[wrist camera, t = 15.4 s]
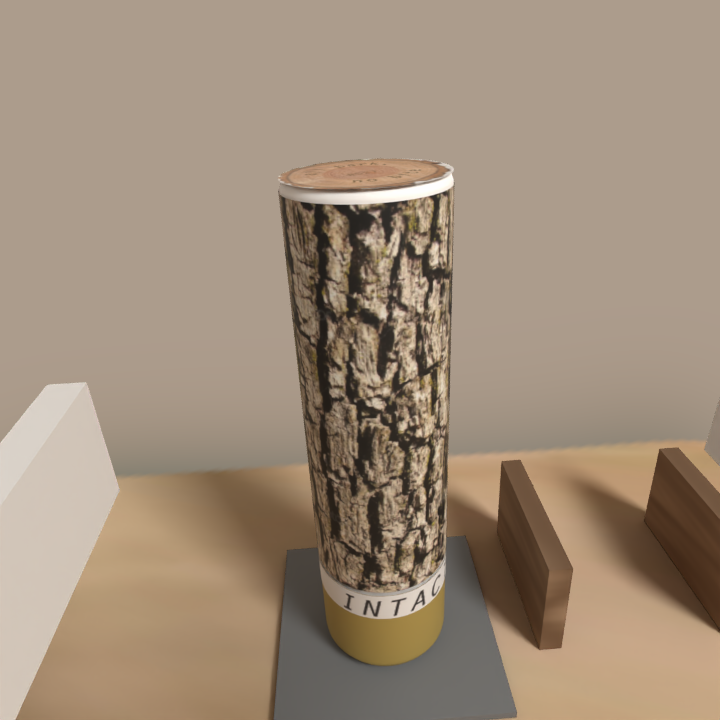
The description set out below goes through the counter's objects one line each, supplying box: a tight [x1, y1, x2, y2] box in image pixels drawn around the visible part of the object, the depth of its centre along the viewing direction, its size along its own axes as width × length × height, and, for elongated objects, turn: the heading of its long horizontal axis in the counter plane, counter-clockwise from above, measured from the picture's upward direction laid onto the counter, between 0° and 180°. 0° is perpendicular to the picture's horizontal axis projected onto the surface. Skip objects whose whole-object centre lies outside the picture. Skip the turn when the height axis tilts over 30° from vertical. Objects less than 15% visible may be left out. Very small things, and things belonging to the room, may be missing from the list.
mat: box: [274, 536, 517, 720], centre depth 34 cm, size 12×12×1 cm
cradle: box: [497, 448, 720, 650], centre depth 35 cm, size 11×9×6 cm
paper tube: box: [278, 158, 454, 666], centre depth 28 cm, size 7×7×25 cm
